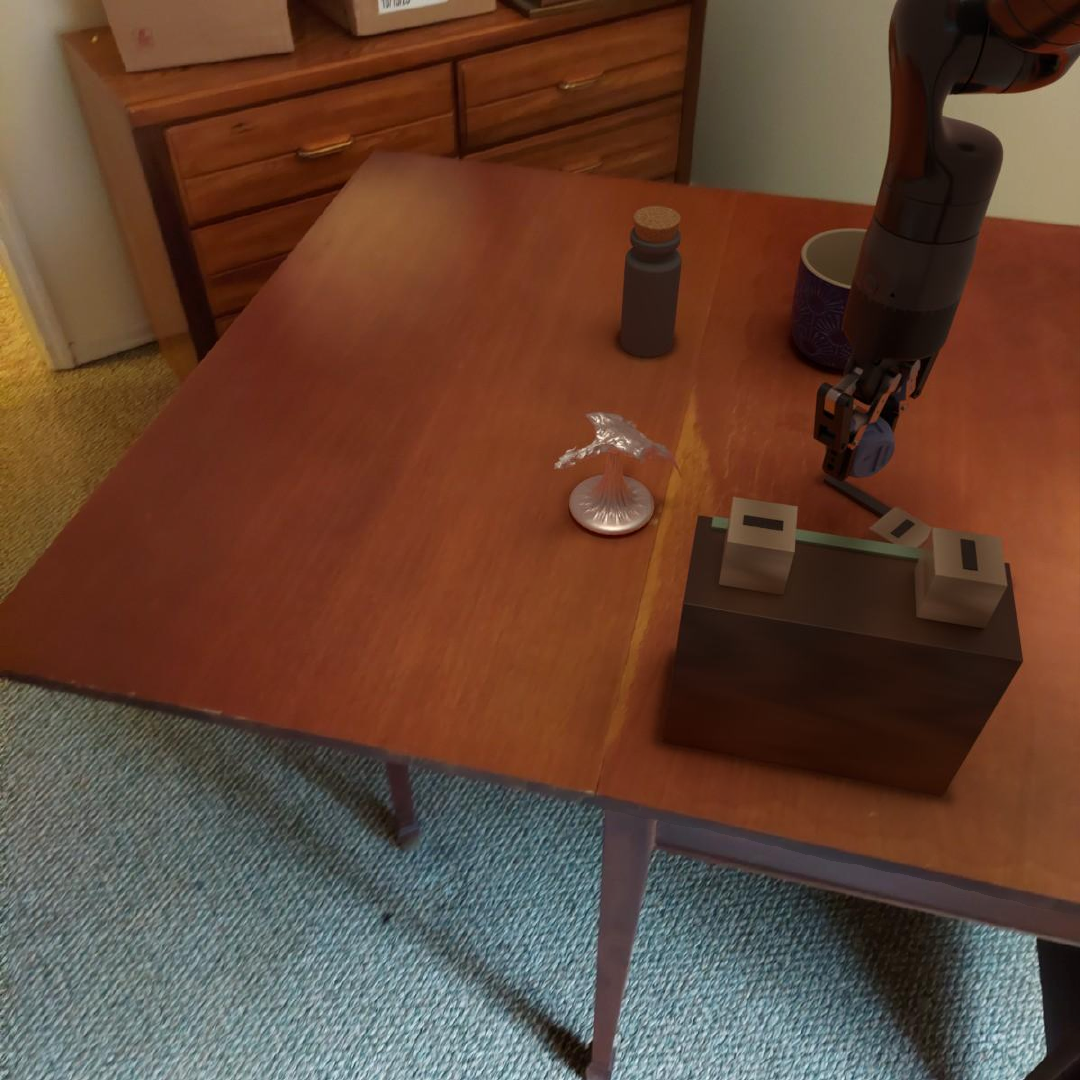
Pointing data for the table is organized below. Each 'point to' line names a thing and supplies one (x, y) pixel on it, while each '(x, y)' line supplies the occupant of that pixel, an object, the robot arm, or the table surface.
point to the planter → (825, 295)
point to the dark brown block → (841, 648)
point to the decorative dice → (873, 449)
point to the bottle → (651, 283)
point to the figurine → (613, 477)
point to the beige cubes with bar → (886, 518)
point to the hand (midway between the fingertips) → (855, 458)
